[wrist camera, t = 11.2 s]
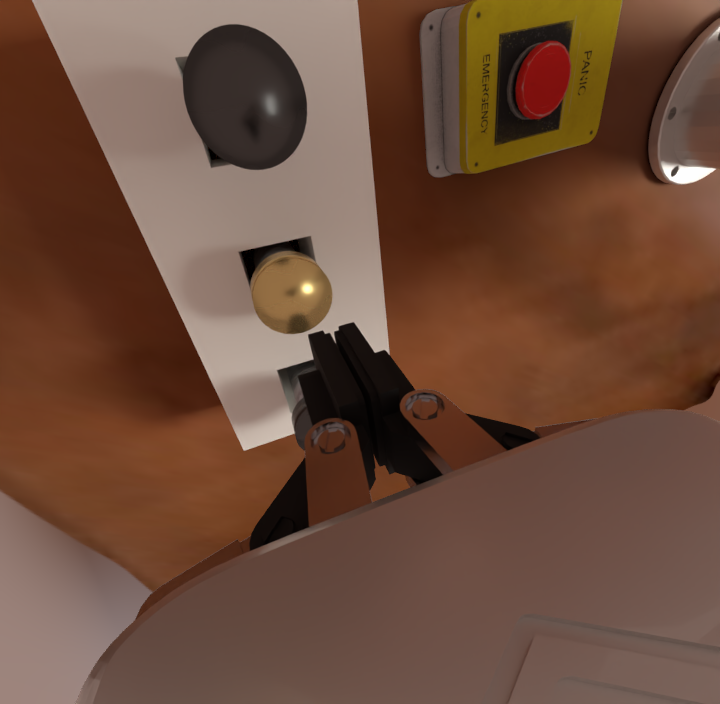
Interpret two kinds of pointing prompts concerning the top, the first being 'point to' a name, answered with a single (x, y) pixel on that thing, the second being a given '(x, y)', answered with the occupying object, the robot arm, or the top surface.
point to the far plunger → (300, 401)
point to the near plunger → (245, 97)
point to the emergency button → (513, 79)
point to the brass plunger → (289, 289)
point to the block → (234, 180)
